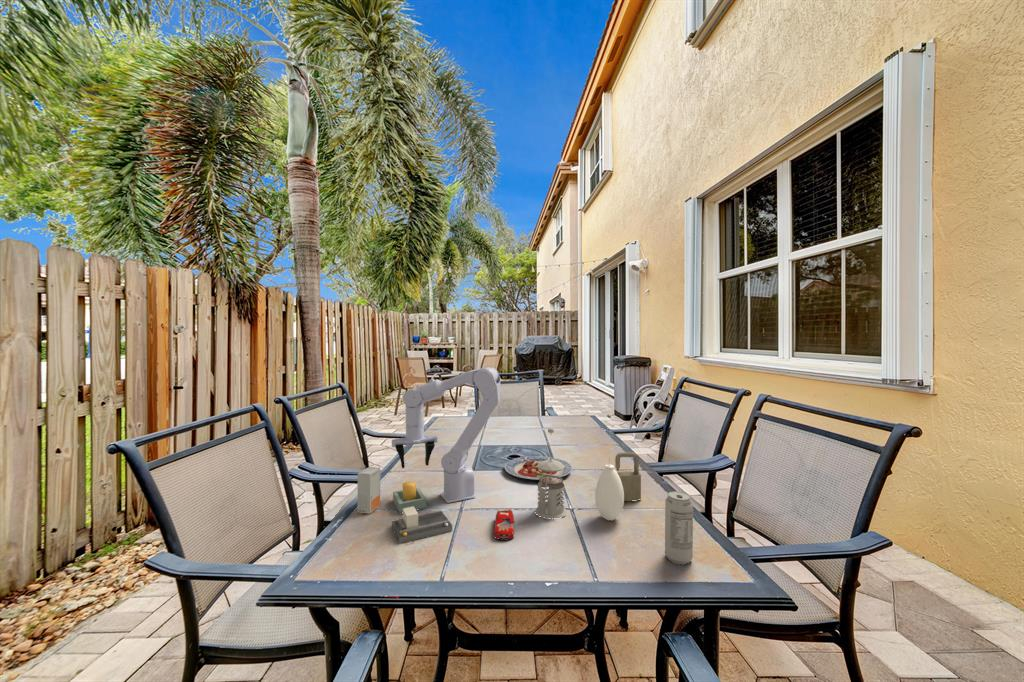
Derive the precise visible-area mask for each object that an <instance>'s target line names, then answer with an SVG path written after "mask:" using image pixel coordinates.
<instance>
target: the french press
mask: <svg viewBox="0 0 1024 682" xmlns="http://www.w3.org/2000/svg"><path fill="white" fill-rule="evenodd" d="M547 433H549V434H552V433H555V429H554V428H553V427H549V428H548V429H547ZM537 467H538V468H539V469H540V470H542V471H546V472H557V471H561V470H563V469H564V467H565V466H564V465H563V464H562V463H560V462H559V461H555V460H545V461H542V462H541V463H539V464H538V465H537ZM538 481H539V482H538V483H537V507H536V508H535V509H536V510H535V509H534V513H535V512H536V514H538V515H539V516H541V517H545V518H551V519H552V518H553V519H554V518H560V517H563V516H564V515H566V513H567V512H568V511H566V510H567V509H566V508H565V501H564V500H565V497H564V496H565V483H564V479H563V477H558V476H552V475H546V476H544V475H543V476H542V477H540V478H539V480H538ZM536 514H535V515H536ZM567 514H568V513H567ZM539 516H538V517H539ZM566 516H567V515H566ZM541 517H540V518H541Z"/></svg>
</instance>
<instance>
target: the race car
mask: <svg viewBox="0 0 1024 682" xmlns="http://www.w3.org/2000/svg"><path fill="white" fill-rule="evenodd" d="M514 519H515V515H514V513H513V510H511V509H508V508H507V509H506V508H505V509H503V508H502V509H500V508H499V509H498V510H497V511H496V514H495V521H494V522H493V523H494V530H493V533H494V534H493V535H494V536H495V537H496V538H499V539H503V540H502V541H507V540H506V539H509V540H511V539H510V538H512V539H514V538H513V537H515V520H514ZM495 537H494V538H495ZM496 538H495V539H496ZM499 539H498V540H499Z"/></svg>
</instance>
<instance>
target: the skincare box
mask: <svg viewBox="0 0 1024 682" xmlns="http://www.w3.org/2000/svg"><path fill="white" fill-rule="evenodd" d="M379 506H380V507H381V467H375V466H368V467H366V468H364V469H362V470H361V471H359V472H358V473H357V513H358V512H360V513H359V514H363V513H368V514H367V515H370V513H371V514H372V513H373V512H374V511H375V509H376V510H377V509H378V508H380V507H379Z"/></svg>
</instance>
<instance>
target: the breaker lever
mask: <svg viewBox="0 0 1024 682" xmlns="http://www.w3.org/2000/svg"><path fill="white" fill-rule="evenodd" d="M418 515H419V513H418V510H416V509H415V508H414V506H413V507H408V508H403V513H402V518H403V524H404V526H405V529H409V528H413V527H418Z"/></svg>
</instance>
